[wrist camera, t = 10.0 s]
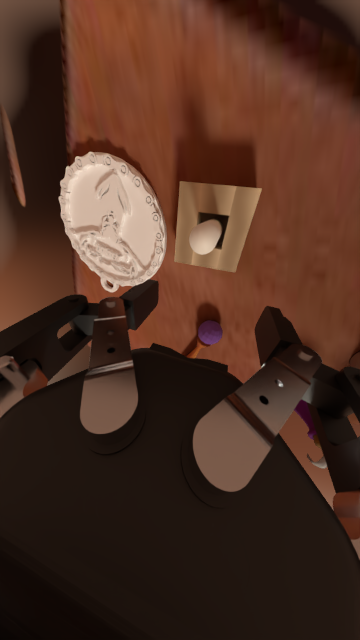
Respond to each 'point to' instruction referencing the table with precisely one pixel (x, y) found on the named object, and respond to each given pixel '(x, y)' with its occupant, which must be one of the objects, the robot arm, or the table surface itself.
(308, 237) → the table surface
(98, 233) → the medallion
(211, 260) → the bore block
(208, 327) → the purple maraca
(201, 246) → the cream pin
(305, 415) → the perfume bottle
